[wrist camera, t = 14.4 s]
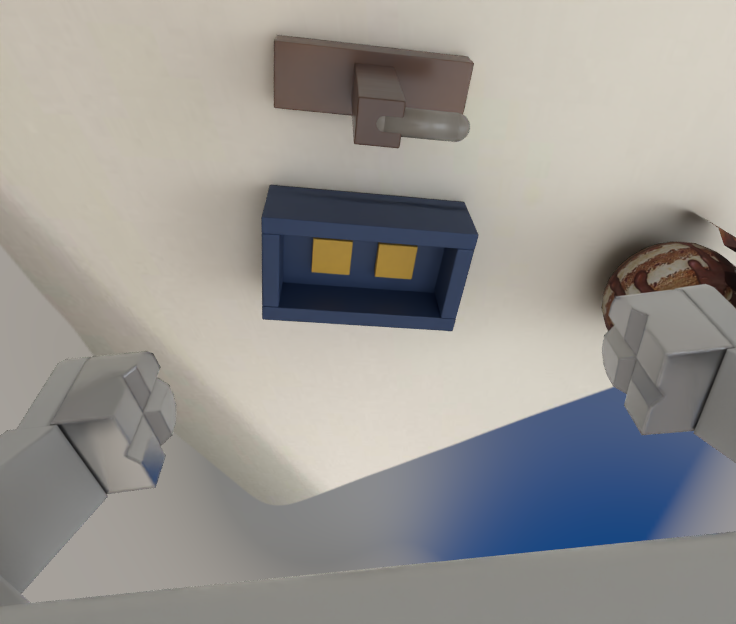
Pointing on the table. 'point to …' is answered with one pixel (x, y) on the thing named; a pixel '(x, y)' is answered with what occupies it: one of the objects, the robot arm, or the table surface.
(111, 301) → the table surface
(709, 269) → the grenade
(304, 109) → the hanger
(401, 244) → the token holder
